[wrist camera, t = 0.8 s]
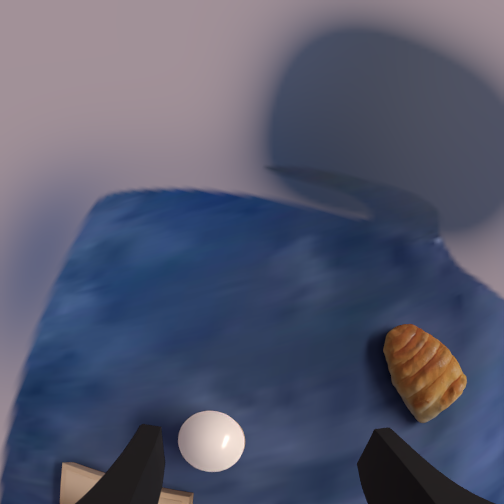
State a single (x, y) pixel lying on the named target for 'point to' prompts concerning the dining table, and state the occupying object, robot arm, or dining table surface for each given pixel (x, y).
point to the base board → (83, 479)
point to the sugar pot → (211, 441)
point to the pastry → (422, 371)
